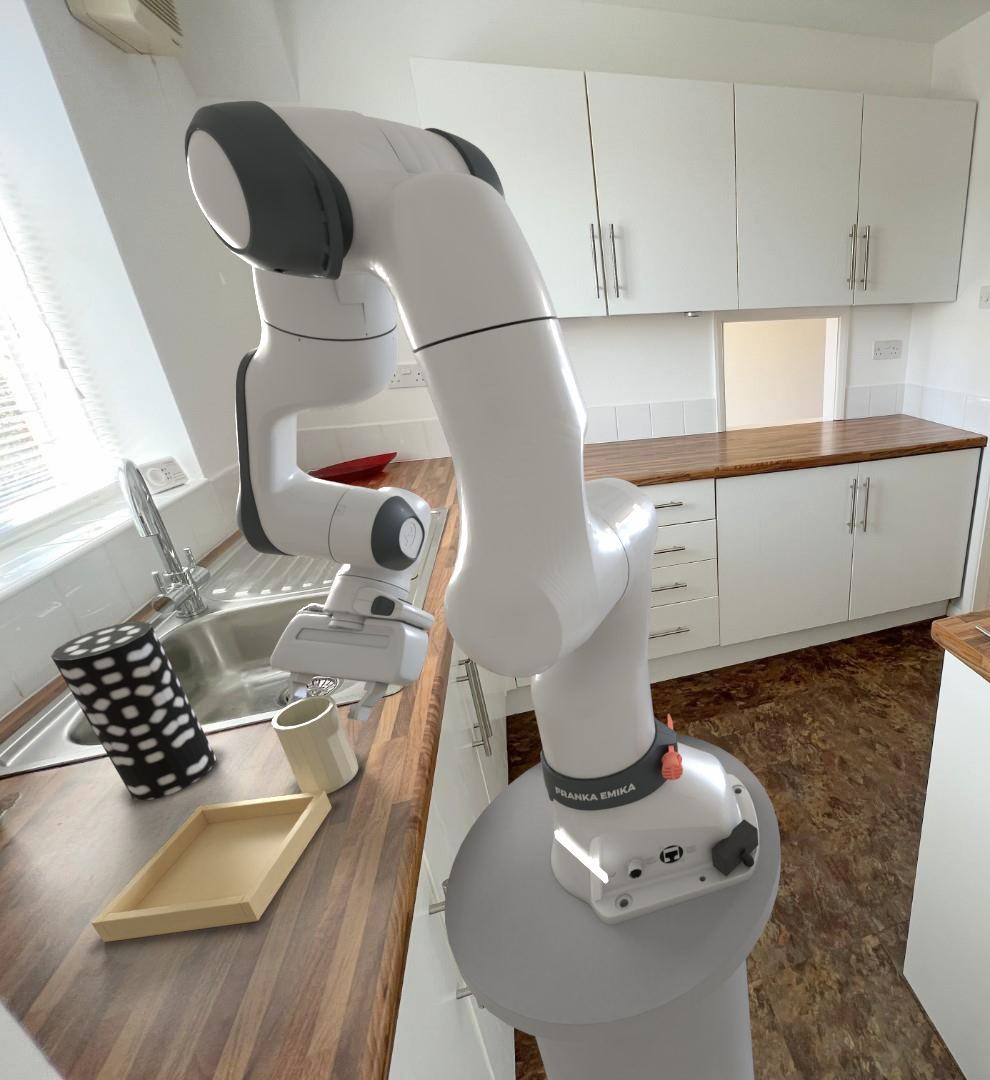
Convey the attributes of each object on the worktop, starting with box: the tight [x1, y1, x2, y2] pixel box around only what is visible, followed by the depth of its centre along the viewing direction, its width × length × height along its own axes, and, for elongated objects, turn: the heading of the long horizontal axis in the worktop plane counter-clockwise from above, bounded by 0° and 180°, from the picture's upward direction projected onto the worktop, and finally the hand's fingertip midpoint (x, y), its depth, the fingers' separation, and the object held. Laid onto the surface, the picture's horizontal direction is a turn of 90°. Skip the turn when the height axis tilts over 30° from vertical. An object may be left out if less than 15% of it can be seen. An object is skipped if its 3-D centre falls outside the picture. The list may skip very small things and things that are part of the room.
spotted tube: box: [50, 621, 217, 801], centre depth 71 cm, size 8×8×20 cm
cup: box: [271, 694, 359, 795], centre depth 70 cm, size 6×6×10 cm
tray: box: [91, 791, 332, 943], centre depth 60 cm, size 14×14×3 cm
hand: (325, 716), depth 71 cm, fingers open, 8 cm apart
